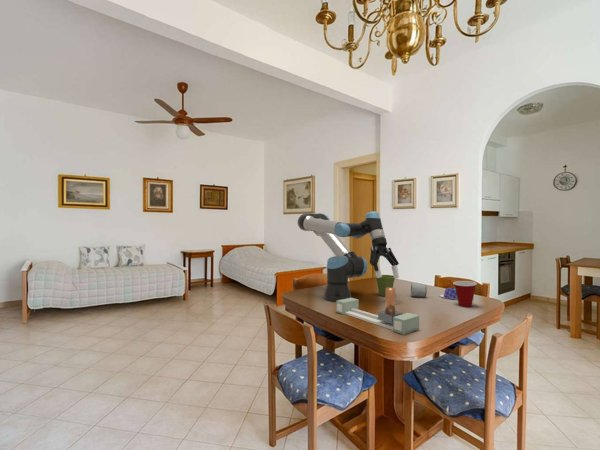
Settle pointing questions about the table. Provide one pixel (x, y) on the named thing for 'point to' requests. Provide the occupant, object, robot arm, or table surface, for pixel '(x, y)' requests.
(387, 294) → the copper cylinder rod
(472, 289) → the plastic cup
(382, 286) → the plant pot
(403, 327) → the rail board
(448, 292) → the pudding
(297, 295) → the table surface
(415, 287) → the ceramic mug
